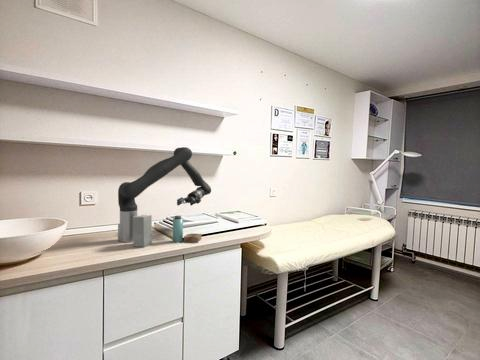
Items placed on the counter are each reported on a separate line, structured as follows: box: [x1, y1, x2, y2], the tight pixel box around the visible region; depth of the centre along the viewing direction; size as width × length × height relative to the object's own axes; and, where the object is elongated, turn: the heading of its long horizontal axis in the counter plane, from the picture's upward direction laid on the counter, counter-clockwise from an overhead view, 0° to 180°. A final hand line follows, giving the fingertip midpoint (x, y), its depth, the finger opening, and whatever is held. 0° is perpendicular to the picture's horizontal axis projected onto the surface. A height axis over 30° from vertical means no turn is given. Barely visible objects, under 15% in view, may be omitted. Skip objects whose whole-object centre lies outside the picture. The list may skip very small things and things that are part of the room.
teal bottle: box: [172, 215, 184, 243], centre depth 144 cm, size 6×6×14 cm
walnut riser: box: [183, 233, 202, 244], centre depth 146 cm, size 8×8×3 cm
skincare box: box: [133, 214, 153, 248], centre depth 135 cm, size 8×7×16 cm
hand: (184, 203), depth 152 cm, fingers open, 8 cm apart
